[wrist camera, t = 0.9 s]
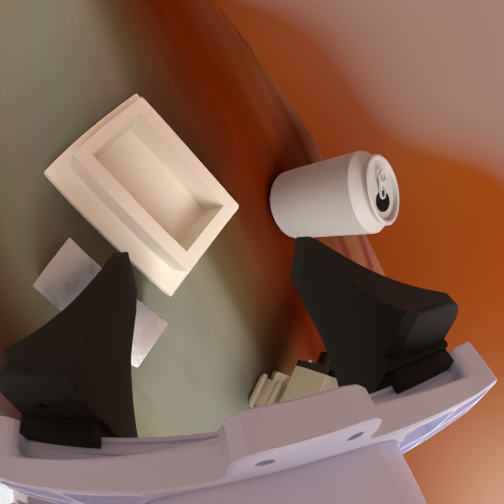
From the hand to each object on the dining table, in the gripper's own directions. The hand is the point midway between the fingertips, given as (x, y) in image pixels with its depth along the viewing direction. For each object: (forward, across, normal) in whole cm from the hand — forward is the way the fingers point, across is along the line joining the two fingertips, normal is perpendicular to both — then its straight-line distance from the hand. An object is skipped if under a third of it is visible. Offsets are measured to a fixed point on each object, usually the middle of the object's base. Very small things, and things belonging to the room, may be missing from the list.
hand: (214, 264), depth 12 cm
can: (+18, -10, +6) cm, 22 cm away
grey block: (+7, +9, +7) cm, 13 cm away
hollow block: (+13, +4, +1) cm, 13 cm away
